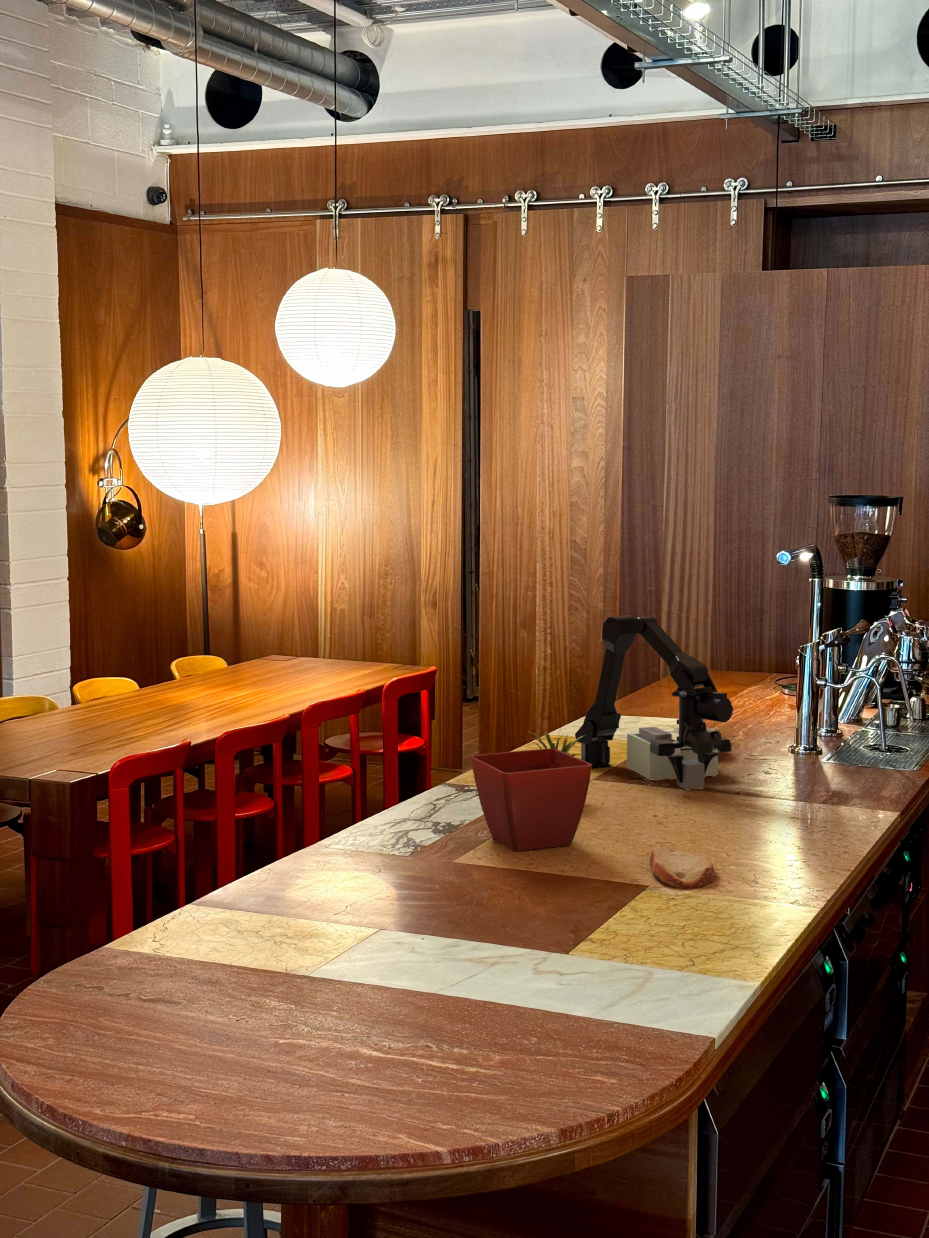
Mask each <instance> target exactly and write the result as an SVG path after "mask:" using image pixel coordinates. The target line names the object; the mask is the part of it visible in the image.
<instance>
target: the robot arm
mask: <svg viewBox="0 0 929 1238" xmlns="http://www.w3.org/2000/svg"><path fill="white" fill-rule="evenodd" d="M601 634H602V636H601V640H602V642H603V645H604V648H605V651H604V655H603V656H604V657H603V659H602V660H603V661H602V667H601V671H600V675H599V680H598V686H597V689H596V690H597V691H596V696H595V699H594V700H595V701H594V702H593V703H592V705H591V706H590V707H589V709H587V712H586V713H585V717H584V720H583V724H582V725H581V726H580V727H579V728H578V730H577V731H576V732H575V734H574V736H575V737H574V738H575V740H576V739H577V738H579V737H581V736H583V737H581V738H580V739H579V740H578V741H577V742H576V743H579V744H580V759H581V760H583V761H585V762H588V763H590V764H592V768H602V767H601V766H607V767H611V765H612V764H610V762H611V747H610V746H609V741H613V740H614V736H615V733H616V732H617V730H618V729H620V720H621V718H622V714H621V713H620V712H617V709H616V705H615V704H616V700H617V694H618V689H619V686H620V680H621V675H622V669H623V666H624V662H625V661H624V660H625V655H626V653H627V651H628V650H629V648H630V647H631V646H632V645H633V643H634V641H635V639H636V635H637V634H639V636H641V637H642V638H643V640H645V642H646V643H647V644H648V645H649V647H651V649H652V650H654V652H655V653H656V655H658V656H659V657H660V658H661V660H663V662H664V663H665V664H666V666H667V668H668V669H669V674H670V675H669V676H670V677H671V678H672V680H673V682H674V683H675V684H676V686H677V688H676V689H675V690H674V691H673V692H672V693H671V696H673V697H676V698H678V700H679V701H678V719H676V724H677V725H678V728H679V736H678V737H677V741H678V742H679V743H672V742H670V741H668V740H653V741H652V742H651V744H650V752H652V753H654V754H656V755H658V756H667V757H668V759H669V760H670V762H671V764H672V766H673V769H674V771H675V774H676V776H677V779H678V781H679V783H682V778H683V776H682V760H683V758H684V756H682V755H681V750H693V752H694V753H696V754H698V761H699V762H701V763H703V764H704V775H705V773H706V770H707V767H708V765H709V763H710V761H711V760H712V759H713V758H714V757H715V756H718V757H719V754H720V753H729V752H733V747H732V746H733V744H732V741H731V740H730V739H728V738H726V737H724V736H722V733H721V731H719V730H717V731H712V732H707V729H706V728H707V724H706V723H707V722H705V721H704V720H708V721H713V722H718V723H727V722H728V721H730V720H731V718H732V716H733V712H734V706H733V704H732V702H731V699H729V698H728V693H727V692H723V691H722V692H718V689H717V687H716V686H715V683H714V681H713V680H712V678H711V676H710V674H709V670H708V668H707V666H706V665H705V664H704V663H703V662H701V661H700V660H699V659H697V658H696V657H694V656H692V655H690V654H687V653H686V652H684V651H683V650H682V649H681V648H680V647H679V646H678V644H677V643H676V642H675V641H674V640H673V639H672V638H671V637H670V636H669V634H668V633H667V632H665V630H664V629H663V627H661V626H660V624H659V623H658V621H657V620H656V618H655V617H653V616H649V615H648V616H640V617H639V616H638V617H637V618H634V617H633V616H631V615H618V616H610V617H608V618H606V619H604V621H603V624H602V631H601ZM584 735H585V736H584ZM684 746H685V747H684ZM716 748H717V750H718V753H716ZM599 766H600V767H599ZM677 779H676V780H677Z"/></svg>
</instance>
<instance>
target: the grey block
mask: <svg viewBox="0 0 929 1238" xmlns="http://www.w3.org/2000/svg"><path fill="white" fill-rule="evenodd" d="M682 776H683V778H682V783H679V781H678V779H676V785H677V784H678V785H679V786H681V787H683V788H685V789H698V788H704V789H705V777H704V764H703V763H701V762H699V761H697V760H682ZM679 786H678V787H679ZM681 787H680V788H681ZM683 788H682V789H683ZM685 789H684V790H685Z"/></svg>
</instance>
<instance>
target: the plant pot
mask: <svg viewBox="0 0 929 1238" xmlns="http://www.w3.org/2000/svg"><path fill="white" fill-rule="evenodd" d="M560 750H561V749H558V750H557V749H553V748H550V747H549V748H548V749H545V748H542V749H540V748H536V749H526V750H515V751H504V752H496V753H495V752H494V753H486V754H475V755H470V760H471V767H472V773H473V778H474V784H475V787H476V791H477V795H478V799H479V803H480V807H481V811H482V813H483V815H484V819H485V822H486V825H487V827H488V829H489V830H488V831H489V833H490V836H491V837H492V838H493V839H494V840H496V841H497V840H498V841H497V842H499V843H500V844H502V845H504V846H505V847H507V848H508V849H510V850H512V851H514V852H521V851H528V850H529V849H530V850H537V849H544V848H545V849H546V848H547V847H548V848H553V847H555V846H556V847H563V845H565V846H569V845H572V843H573V841H574V838H575V836H576V833H577V831H578V827H579V825H580V822H581V819H582V815H583V812H584V807H585V804H586V800H587V797H588V793H589V792H588V791H589V787H590V781H591V775H592V768H593V767H592V764H590V763H588V762H585V761H583V760H581V758H579V757H576V756H571V754H570V753H569V754H570V755H569V754H567V753H564V752H562V751H560ZM548 848H547V849H548Z"/></svg>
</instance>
